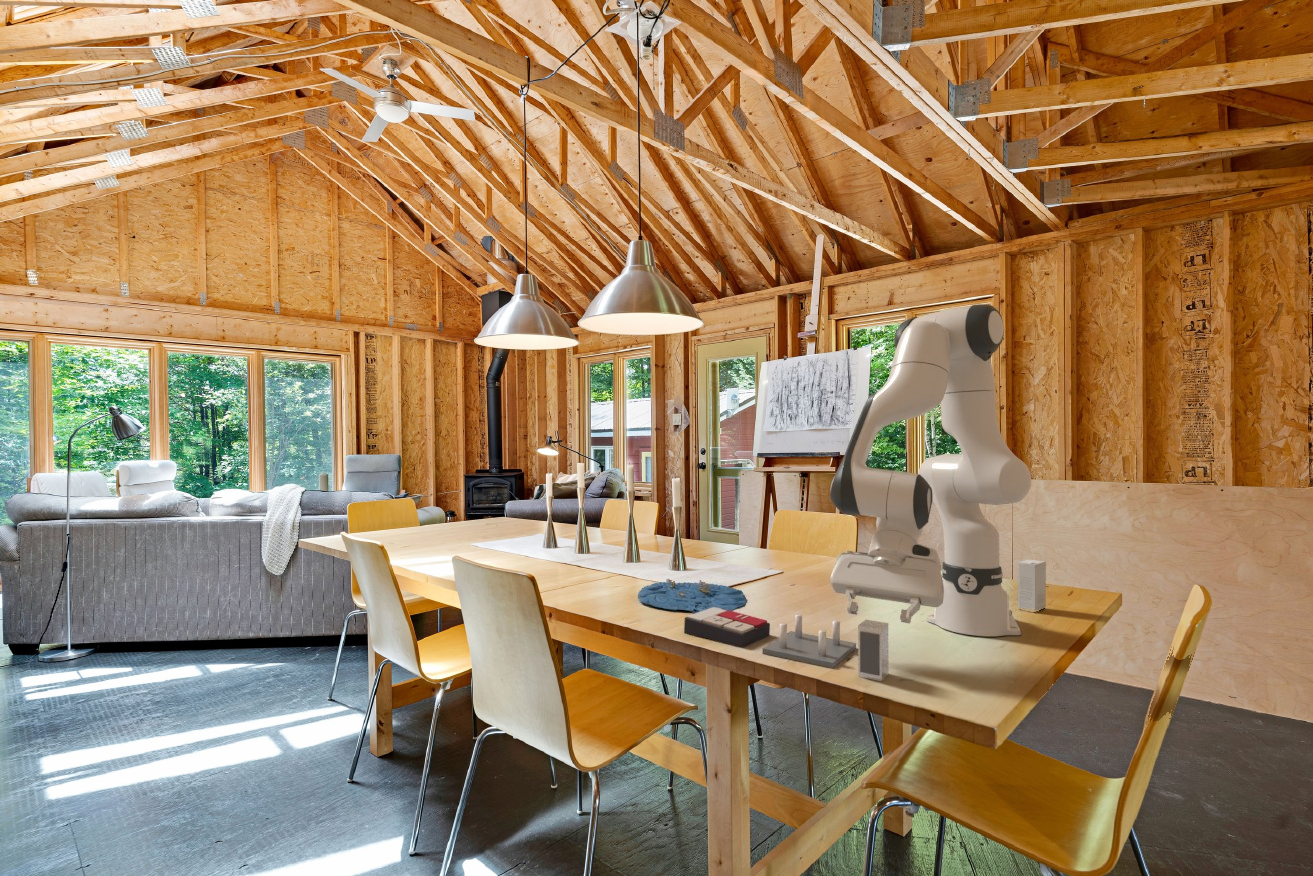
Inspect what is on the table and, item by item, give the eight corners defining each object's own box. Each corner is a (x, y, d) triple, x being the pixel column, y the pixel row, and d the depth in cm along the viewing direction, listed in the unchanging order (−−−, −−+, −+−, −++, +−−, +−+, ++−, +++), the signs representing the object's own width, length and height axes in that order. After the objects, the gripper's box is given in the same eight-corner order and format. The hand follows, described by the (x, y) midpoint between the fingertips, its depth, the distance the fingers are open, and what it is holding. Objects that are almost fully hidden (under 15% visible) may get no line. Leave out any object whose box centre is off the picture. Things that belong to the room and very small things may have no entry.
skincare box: (1027, 606, 157) (1027, 558, 157) (1047, 609, 153) (1046, 561, 153) (1016, 609, 153) (1016, 561, 153) (1036, 613, 150) (1036, 564, 150)
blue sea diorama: (771, 604, 165) (772, 584, 165) (700, 625, 143) (701, 603, 143) (688, 582, 185) (689, 565, 185) (615, 598, 163) (615, 579, 163)
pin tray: (790, 635, 132) (790, 610, 132) (856, 648, 124) (856, 620, 124) (762, 653, 120) (762, 625, 120) (832, 668, 112) (832, 638, 112)
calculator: (743, 631, 124) (683, 614, 133) (742, 652, 124) (683, 634, 133) (771, 619, 132) (713, 604, 142) (770, 639, 132) (712, 622, 142)
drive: (865, 669, 112) (865, 619, 112) (888, 673, 110) (888, 623, 110) (857, 677, 108) (857, 625, 108) (881, 682, 106) (881, 629, 106)
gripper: (835, 540, 124) (818, 598, 116) (945, 551, 113) (934, 616, 105) (842, 559, 128) (826, 616, 120) (949, 572, 116) (939, 636, 108)
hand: (877, 616), depth 112 cm, fingers open, 8 cm apart
